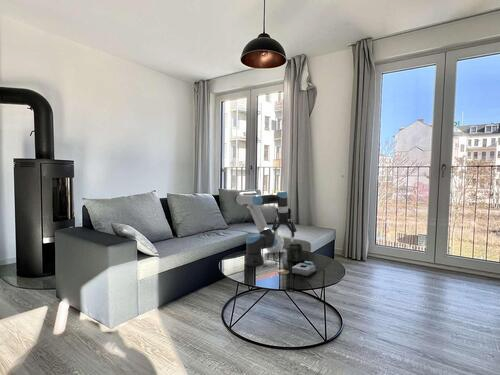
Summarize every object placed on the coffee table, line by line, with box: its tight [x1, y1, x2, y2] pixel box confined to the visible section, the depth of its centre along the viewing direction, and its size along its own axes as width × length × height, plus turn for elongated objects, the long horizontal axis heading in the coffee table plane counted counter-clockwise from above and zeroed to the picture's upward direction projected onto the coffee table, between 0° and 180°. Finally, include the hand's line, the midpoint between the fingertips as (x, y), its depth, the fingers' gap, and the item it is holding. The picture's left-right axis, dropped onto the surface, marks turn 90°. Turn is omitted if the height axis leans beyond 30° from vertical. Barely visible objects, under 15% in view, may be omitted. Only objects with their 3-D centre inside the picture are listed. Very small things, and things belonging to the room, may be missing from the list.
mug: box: [284, 243, 303, 262], centre depth 235 cm, size 11×15×12 cm
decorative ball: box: [265, 230, 285, 254], centre depth 258 cm, size 20×17×20 cm
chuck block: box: [291, 260, 316, 277], centre depth 207 cm, size 12×15×5 cm
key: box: [281, 249, 289, 269], centre depth 217 cm, size 3×6×13 cm, turn 142°
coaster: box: [277, 269, 290, 275], centre depth 207 cm, size 8×8×1 cm
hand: (284, 240), depth 216 cm, fingers open, 13 cm apart
